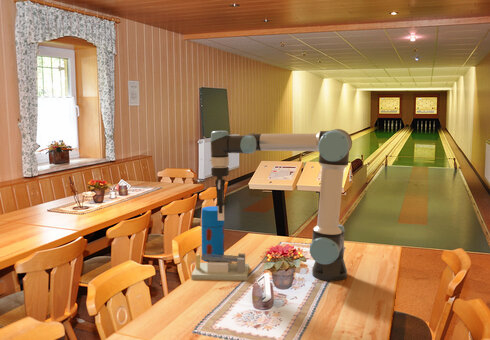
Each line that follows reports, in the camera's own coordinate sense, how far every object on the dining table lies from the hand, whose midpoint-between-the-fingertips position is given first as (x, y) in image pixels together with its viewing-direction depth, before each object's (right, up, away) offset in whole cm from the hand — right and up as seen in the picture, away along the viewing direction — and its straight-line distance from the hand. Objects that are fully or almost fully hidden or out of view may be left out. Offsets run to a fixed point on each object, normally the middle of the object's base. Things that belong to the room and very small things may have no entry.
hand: (221, 220), depth 213 cm
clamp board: (0, -24, +3) cm, 24 cm away
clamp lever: (+1, -18, +3) cm, 18 cm away
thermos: (-5, -22, +24) cm, 32 cm away
